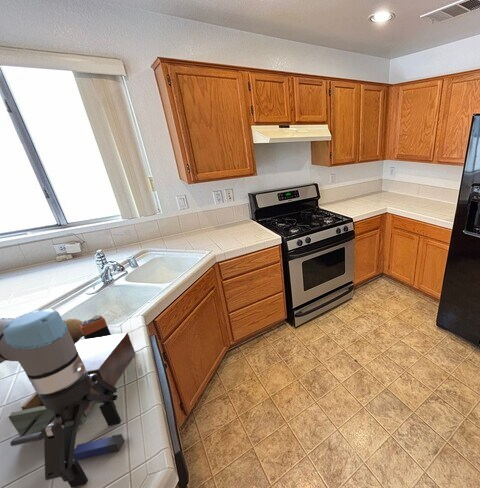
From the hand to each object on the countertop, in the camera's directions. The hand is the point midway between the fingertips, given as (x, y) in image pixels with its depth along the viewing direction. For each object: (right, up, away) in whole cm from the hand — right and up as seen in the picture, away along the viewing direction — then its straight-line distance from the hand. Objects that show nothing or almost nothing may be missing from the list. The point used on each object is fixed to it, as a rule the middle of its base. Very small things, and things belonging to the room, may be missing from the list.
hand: (99, 450), depth 61 cm
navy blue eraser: (0, 0, 0) cm, 0 cm away
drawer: (-16, +3, +9) cm, 19 cm away
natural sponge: (-42, +11, +39) cm, 58 cm away
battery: (-33, +11, +39) cm, 52 cm away
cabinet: (-19, +6, +22) cm, 30 cm away
